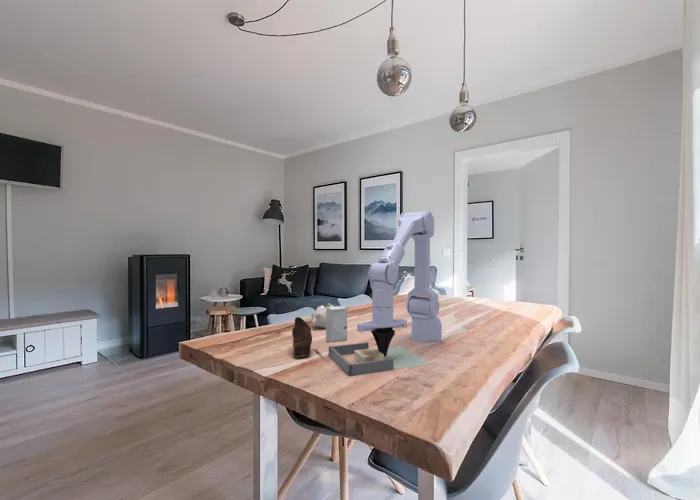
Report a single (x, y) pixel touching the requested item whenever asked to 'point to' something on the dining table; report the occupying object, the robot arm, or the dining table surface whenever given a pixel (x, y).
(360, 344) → the box
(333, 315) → the skincare box
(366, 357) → the birch tile
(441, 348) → the dining table surface
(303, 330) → the decorative rock
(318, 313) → the cat figurine
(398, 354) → the far plate
